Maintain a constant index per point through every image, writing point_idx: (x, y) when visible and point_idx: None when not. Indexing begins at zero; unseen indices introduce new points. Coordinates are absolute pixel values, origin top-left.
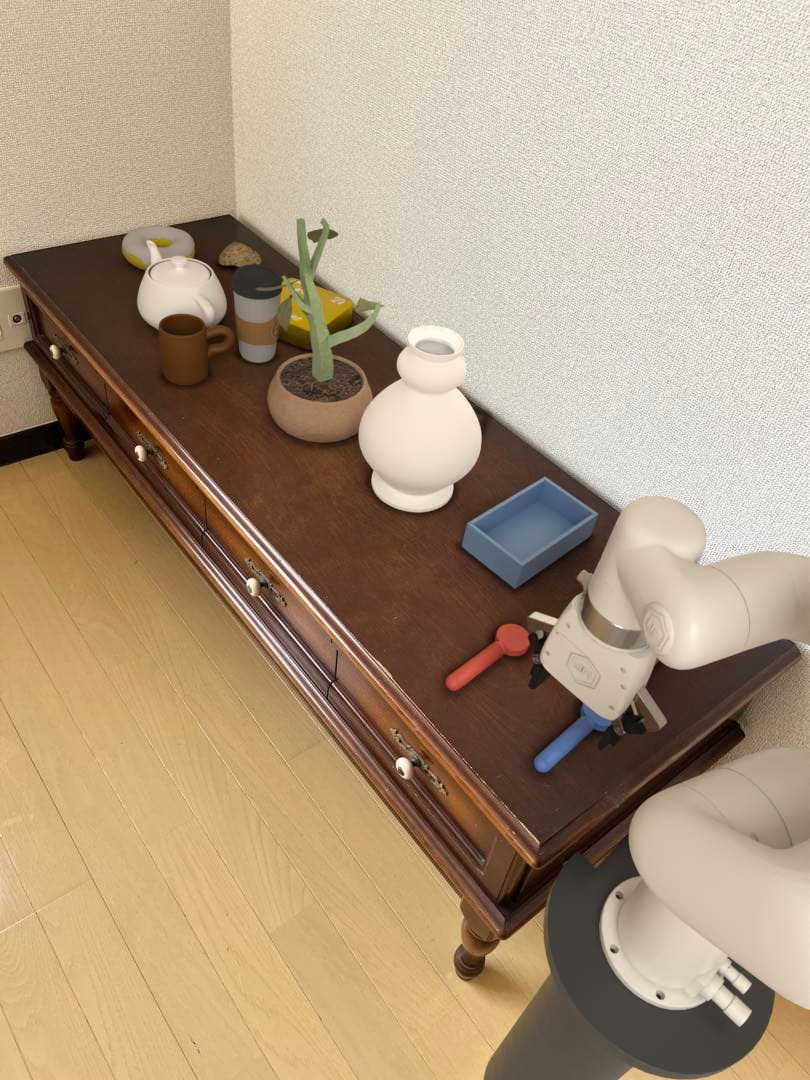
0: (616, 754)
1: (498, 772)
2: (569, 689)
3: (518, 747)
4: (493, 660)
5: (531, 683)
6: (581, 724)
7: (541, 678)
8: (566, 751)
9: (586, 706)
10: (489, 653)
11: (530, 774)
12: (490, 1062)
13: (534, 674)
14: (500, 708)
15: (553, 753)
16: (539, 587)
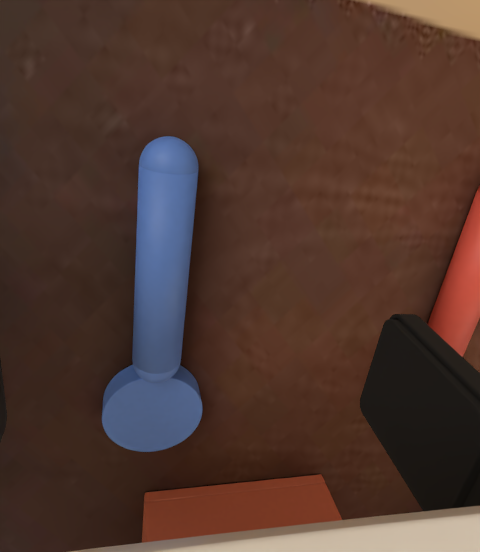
0: (41, 353)
1: (256, 43)
2: (364, 539)
3: (255, 169)
4: (441, 321)
5: (426, 333)
6: (162, 350)
7: (407, 383)
8: (139, 252)
9: (187, 396)
10: (465, 327)
11: (176, 116)
12: None
13: (476, 377)
14: (355, 232)
15: (162, 211)
16: (415, 504)
